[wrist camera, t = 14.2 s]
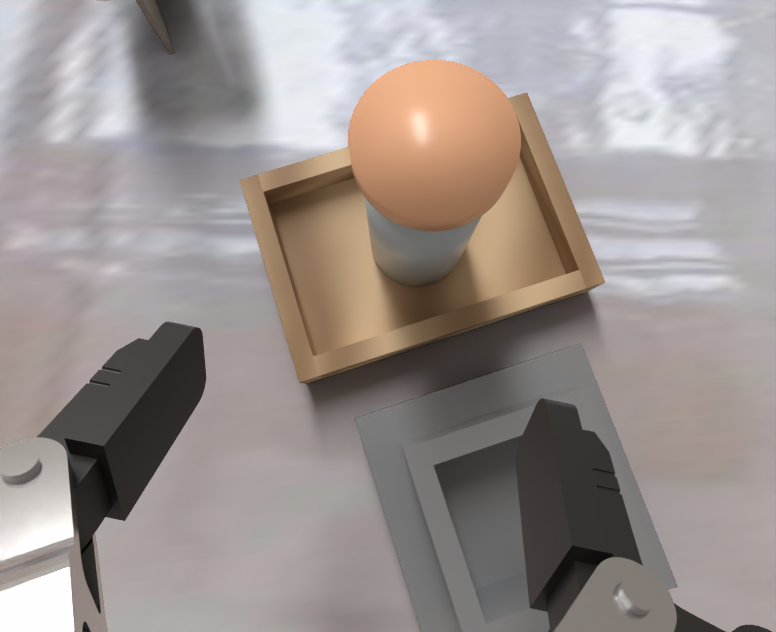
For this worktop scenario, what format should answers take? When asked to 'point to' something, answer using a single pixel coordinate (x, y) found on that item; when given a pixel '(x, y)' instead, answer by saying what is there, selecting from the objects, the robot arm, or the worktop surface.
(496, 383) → the housing
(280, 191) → the tray
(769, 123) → the worktop surface
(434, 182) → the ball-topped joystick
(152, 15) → the architectural model
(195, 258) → the worktop surface
